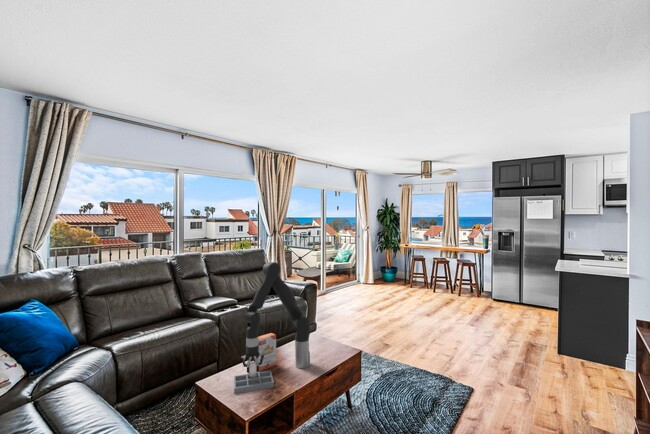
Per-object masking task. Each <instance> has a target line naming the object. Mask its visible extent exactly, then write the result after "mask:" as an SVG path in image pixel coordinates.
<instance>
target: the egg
mask: <svg viewBox="0 0 650 434" xmlns="http://www.w3.org/2000/svg"><path fill="white" fill-rule="evenodd" d="M257 373H258V372H257V365H256V363H255V362H254V361H252V362H250V364H249V373H248V374H249V377H251V378H253V377H256V376H257Z"/></svg>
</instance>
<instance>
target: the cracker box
mask: <svg viewBox="0 0 650 434" xmlns="http://www.w3.org/2000/svg"><path fill="white" fill-rule="evenodd" d="M258 339H259V353H260V354H262V353H263V354H264V358H263V361H262V364H261V365H259V371H258V372H263V371H264V370H265V371H266V370H267V369H269V368H273V367H275V366H277V334H275V333H272V332H270V333H266V334H263V335H260V336H259V335H258ZM260 359H261V358H260V356H259V357H258V359H257V360H258V362H260ZM253 362H255V361H253ZM255 363H256V362H255ZM256 365H257V364H256ZM258 372H257V373H258Z"/></svg>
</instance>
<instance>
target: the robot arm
mask: <svg viewBox="0 0 650 434" xmlns="http://www.w3.org/2000/svg"><path fill="white" fill-rule="evenodd" d="M262 272H263V274H264V276H265V278H264V280H263V281H262V284H261V285H260V287H259V288H258V290H257V291H256V292H255V295H254V297H253V300H252V302H251V303H250V304H249V306H248V308H247V309H246V311H245V312H244V314H243V315H244V316H243V317H244V321H245V322H246V323H248V324H249V326H248V327H247V328H246V335H245V336H246V340H245V342H246V343H245V349H246V350H245V355H241V356H240V357H241V358H240V359H241V362H242V367H243V368H246V373H247V374H249V364H250V363H251V362H254V361H255V362H256V364H257V373H258V371H259V365H261V364H262V361H263V358H264V354H263V353H262V354H260V353H259V339H258V337H259V328H260V323H261V315H260V314H259V312H258V310H261V309H262V308H263V307H264V305H265V302H266V299H267V298H268V295H269V293H270V290H271V288H273V290H274V291H275V293H276V295H277V297H278V299H279V300H280V302H281V303H282V305H283V307H284V308H285V309H286V311H287V312H288V314H289V315H290V318H291V321H292V323H293V325H294V326H295V328H296V334H295V336H294V342H295V343H294V346H295V347H294V348H295V349H294V350H295V351H294V353H295V355H294V356H295V362H294V363H295V367H296V368H298V369H307V368H308V367H311V352H310V335H311V323H310V320H309V318H308V317H307V316H306V315H305V314H304V313H303V312H302V311H301V309H300V308H299V306H298V303H297V299H296V296H295V294H294V292H293V291H292V289H291V288H290V287H289V286H288V284H286V282H284V281H283V279H282V278H281V277H280V272H281V266H280V264H279V263H278V262H276V261H275V262H271V261H270V262H267V263H265V264H264V265H263V266H262ZM259 356H260V358H261V359H260V362H258V360H257V359H258V357H259ZM245 360H247V362H246V361H245Z"/></svg>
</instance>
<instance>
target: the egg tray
mask: <svg viewBox="0 0 650 434" xmlns="http://www.w3.org/2000/svg"><path fill="white" fill-rule="evenodd" d="M274 387H275V381H274V377H273V374H272V370H265V371H264V370H263V371H260V372H257V376H256V377H253V378H251V377H249V373H247V374H240V375H234V376H233V391H234V392H233V394H240V393H246V392H251V391H252V392H253V391H258V390H263V389H269V388H274Z"/></svg>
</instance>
